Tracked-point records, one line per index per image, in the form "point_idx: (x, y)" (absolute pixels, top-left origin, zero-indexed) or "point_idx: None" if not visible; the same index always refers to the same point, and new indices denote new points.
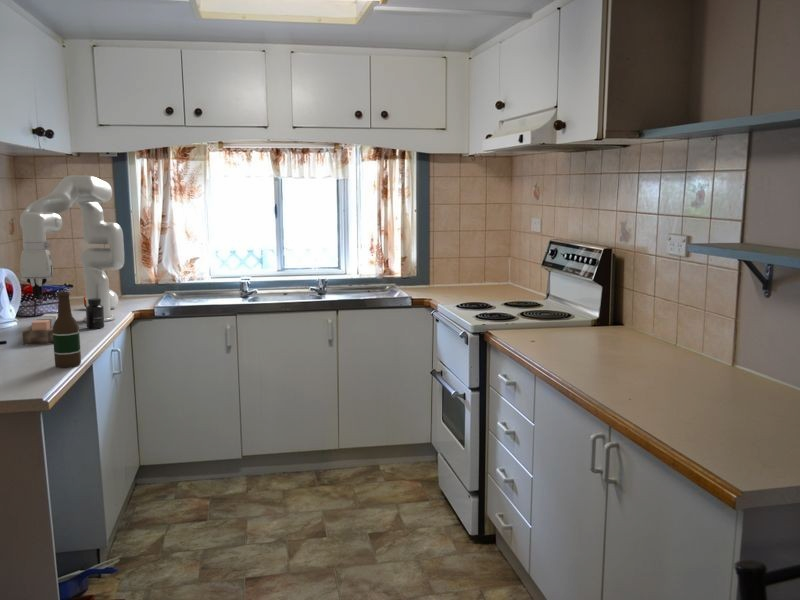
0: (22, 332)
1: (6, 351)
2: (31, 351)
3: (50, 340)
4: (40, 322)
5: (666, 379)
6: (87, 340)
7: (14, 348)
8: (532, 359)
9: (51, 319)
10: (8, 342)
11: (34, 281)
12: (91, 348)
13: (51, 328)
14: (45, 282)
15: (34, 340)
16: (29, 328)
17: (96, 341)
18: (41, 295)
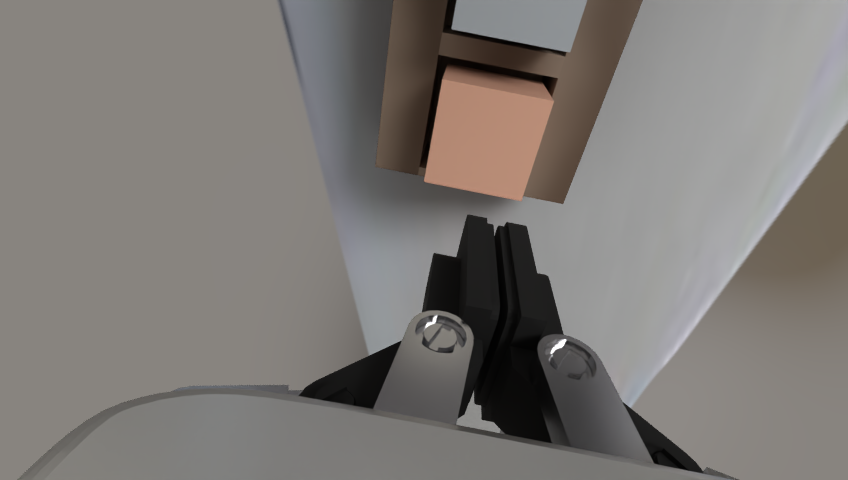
0: (377, 163)
1: (344, 258)
2: None
3: None
4: (483, 192)
5: None
6: (727, 152)
7: (364, 212)
8: None
9: (573, 37)
10: (295, 31)
11: (432, 395)
12: (677, 333)
13: (549, 137)
14: (640, 427)
15: None
16: (405, 75)
17: (759, 199)
18: (523, 233)
